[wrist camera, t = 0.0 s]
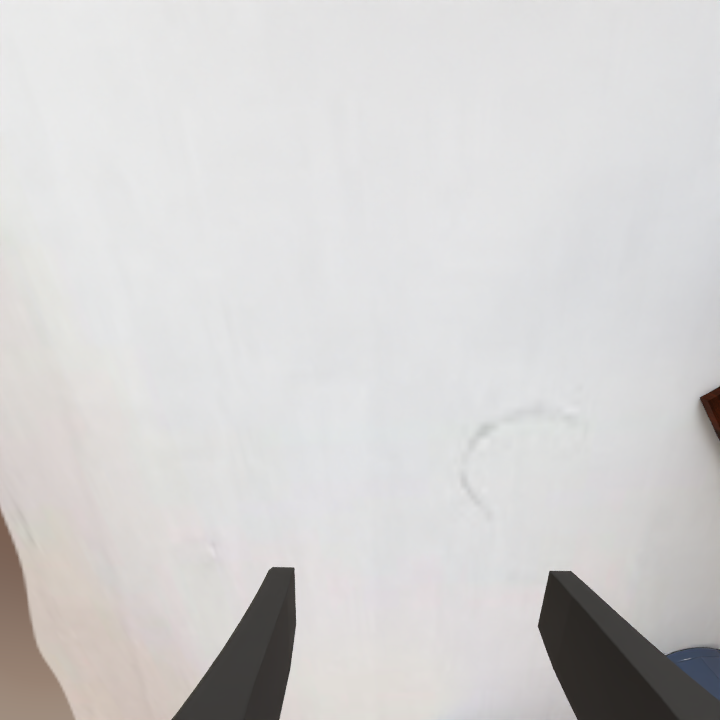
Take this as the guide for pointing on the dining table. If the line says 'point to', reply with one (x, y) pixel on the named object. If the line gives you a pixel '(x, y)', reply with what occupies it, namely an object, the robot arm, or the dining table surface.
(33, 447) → the dining table surface
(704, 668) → the tumbler
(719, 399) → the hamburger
